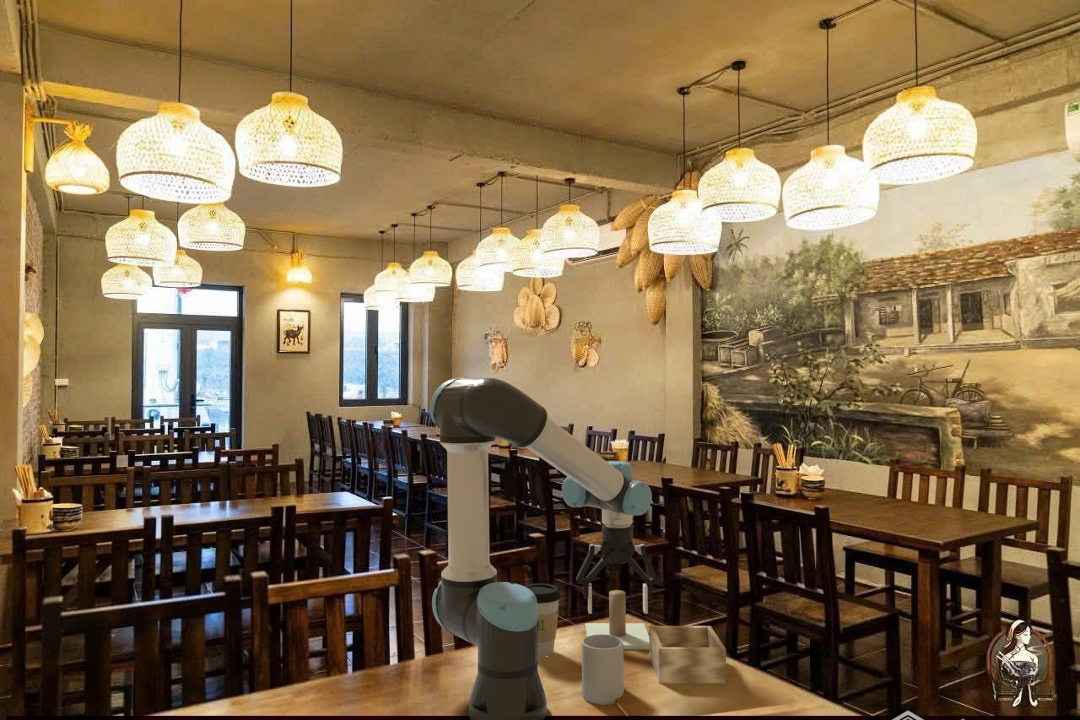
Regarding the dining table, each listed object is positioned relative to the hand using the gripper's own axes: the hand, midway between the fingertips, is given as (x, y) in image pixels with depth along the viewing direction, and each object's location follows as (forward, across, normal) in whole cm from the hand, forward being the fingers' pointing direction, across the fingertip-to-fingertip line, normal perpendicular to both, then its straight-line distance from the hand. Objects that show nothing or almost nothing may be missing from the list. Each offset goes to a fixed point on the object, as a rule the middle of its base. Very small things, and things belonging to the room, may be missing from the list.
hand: (617, 612), depth 175 cm
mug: (+8, -6, -28) cm, 30 cm away
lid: (+8, 0, 0) cm, 8 cm away
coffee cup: (+8, -19, -7) cm, 22 cm away
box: (+7, +13, -19) cm, 24 cm away
